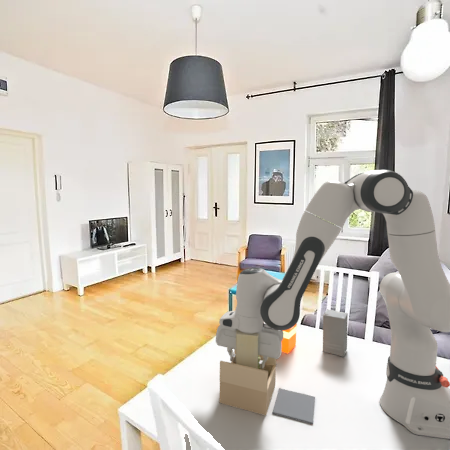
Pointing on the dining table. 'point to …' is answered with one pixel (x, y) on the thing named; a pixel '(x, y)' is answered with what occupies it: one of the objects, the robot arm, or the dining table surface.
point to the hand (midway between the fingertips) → (246, 364)
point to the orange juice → (289, 339)
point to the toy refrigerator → (247, 349)
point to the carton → (247, 385)
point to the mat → (294, 405)
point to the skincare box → (335, 332)
